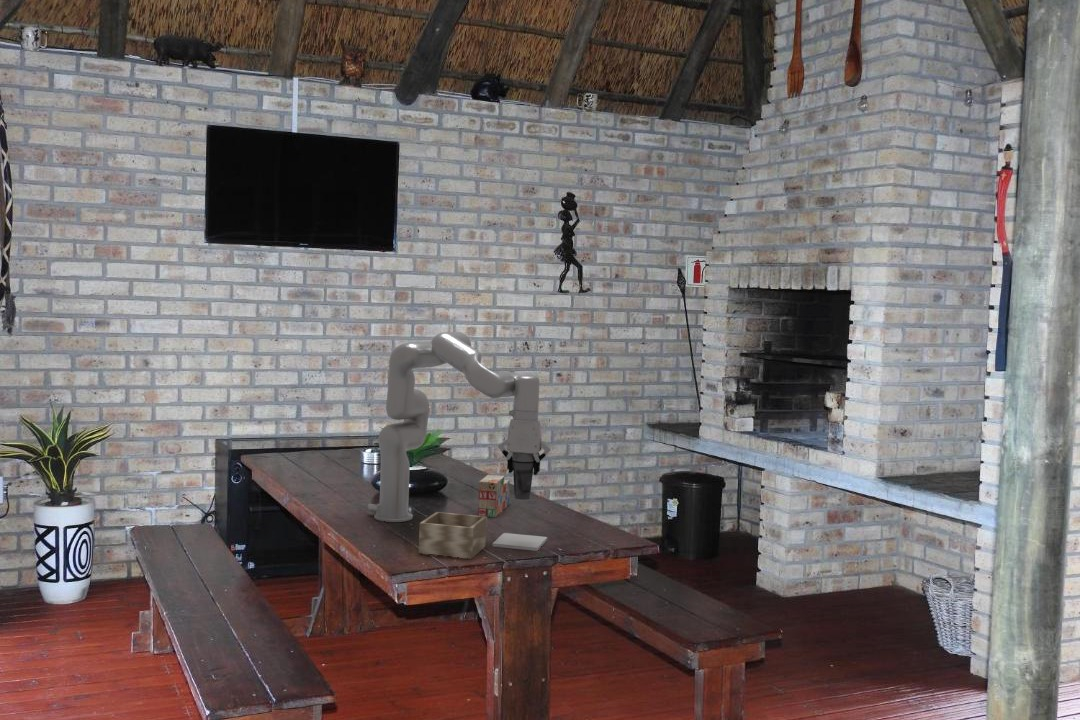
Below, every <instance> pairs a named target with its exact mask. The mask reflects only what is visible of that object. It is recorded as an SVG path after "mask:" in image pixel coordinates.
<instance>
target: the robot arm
mask: <svg viewBox="0 0 1080 720" xmlns="http://www.w3.org/2000/svg"><path fill="white" fill-rule="evenodd" d="M482 359H483V358H482V354H481V352H480V351H479V350H477V349H476V348H474V347H473V346H472V343H471V340H470V338H469V336H468V335H467V334H465V333H464V332H461V331H445V332H440V333H437V334H436V335H435V336H433V338H432V339H431V341H412V342H411V341H410V342H405V343H401V344H399V345H398V346H396V347H395V348H394V349H393V350H392V351H391V354H390V356H389V361H388V363H389V365H388V371H389V373H388V384H387V391H386V392H387V394H386V404H385V405H386V406H385V407H386V408H385V410H386V414H387V416H388V418H390V419H391V420H397V421H401V420H403V421H402V422H397V423H390V424H387V425H386V426H384V427H383V428H381V430H380V431H379V434H378V440H377V441H378V447H379V453H380V454H379V455H380V470H379V471H380V478H379V479H380V481H379V503H377V504H374V503H368V505H367V509H368V511H371V512H373V511H375V514H374V515H373V516H374V519H375V520H377V521H380V522H384V521H385V522H387V523H402V522H403V523H404V522H408V521H411V520H413V517H414V516H413V515H414V514H412V513H411V512H409V497H410V496H409V495H410V468H411V467H410V460H409V457H408V455H407V451H413V450H416V449H419V448H420V447H422V446H423V445H424V443H425V441H426V438H427V434H428V433H427V432H428V422H429V421H428V420H429V412H430V404H429V399H428V397H427V394H426V393H424V392H423V391H422V390H420V389H415V383H416V378H415V373H414V371H413V369H420V368H423V369H424V368H433V367H434V368H435V367H438V366H442V365H445V364H448V365H449V366H451V367H453V368H454V369H456V370H457V371H459V372H460V373H462V374H463V376H464V377H465V379H466V380H467V382H468V383H469V385H470V386H471V387H472V388H473V389H475V390H477V391H479V392H480V393H482V394H483V395H485V396H487V397H489V398H493V399H500V398H508V397H513V409H512V410H508V415H509V416H512V418H511V419H510V421H509V423H508V424H509V425H508V433H507V439H505V440H504V441H502V442H501V443H500V444H499V445H497V448H498V449H499V451H500V452H501V453H502V455H503V456H504V457H505V458H506V462H507V465H506V470H508V474H509V473H510V474H511V473H512V472H513V465H512V458H513V455H514V453H526V454H533V456H534V458H535V462H534V468H533V476H537V475H538V474H539V472H540V471H541V461H542V460H543V459H544V458H546V456H547V455H548V454H549V453H550V452H551V451H552V450H551V448H550V447H549V446H548V445H547V444H546V443H545V442H544V441H543V439H542V427H541V421H540V420H539V407H540V406H539V405H540V404H539V403H540V381H541V380H540V379H539V376H536V375H533V374H532V375H531V374H520V373H518V372H513V371H506V372H496V373H495V372H494V371H492V370H490V369H489V368H487V367H485V366H484V365H483V364H481V363H482ZM505 446H506V447H505ZM542 449H543V450H544V451H543V452H542V453H541V454H540V452H541V451H542Z"/></svg>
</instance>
